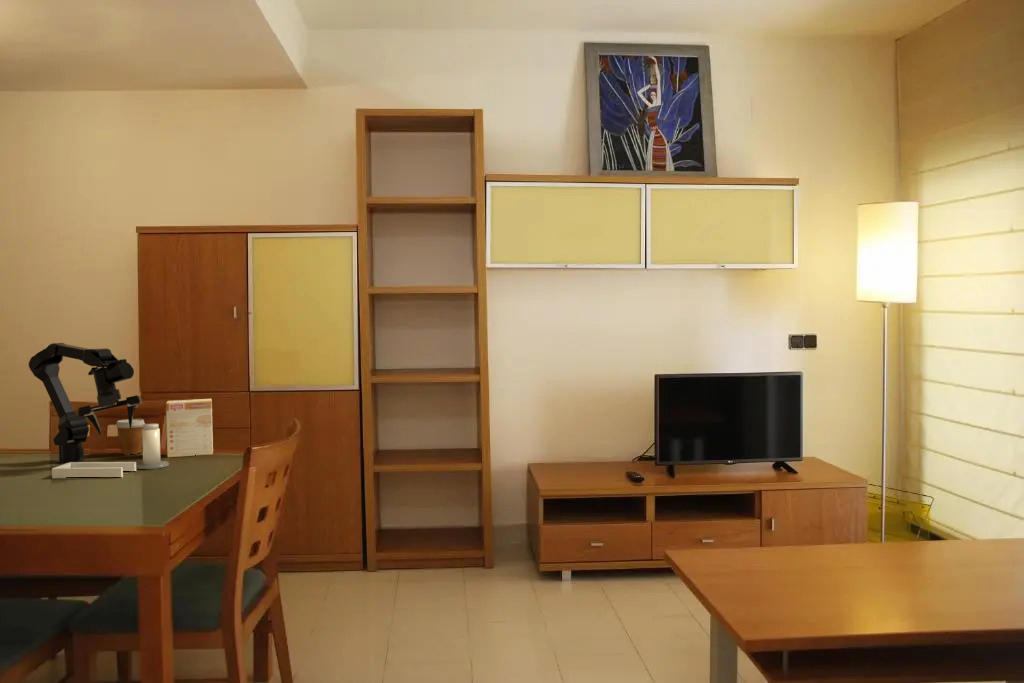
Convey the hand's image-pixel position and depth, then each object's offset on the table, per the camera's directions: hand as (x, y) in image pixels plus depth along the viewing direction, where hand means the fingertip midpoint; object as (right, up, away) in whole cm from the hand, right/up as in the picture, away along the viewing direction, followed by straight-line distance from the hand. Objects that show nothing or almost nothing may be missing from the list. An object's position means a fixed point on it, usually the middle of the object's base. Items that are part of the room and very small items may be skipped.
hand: (115, 431), depth 265 cm
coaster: (+13, -11, -3) cm, 18 cm away
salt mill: (+13, -10, -3) cm, 17 cm away
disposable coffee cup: (-5, -11, +21) cm, 24 cm away
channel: (+1, -12, -15) cm, 19 cm away
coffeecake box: (+17, -11, +19) cm, 28 cm away
